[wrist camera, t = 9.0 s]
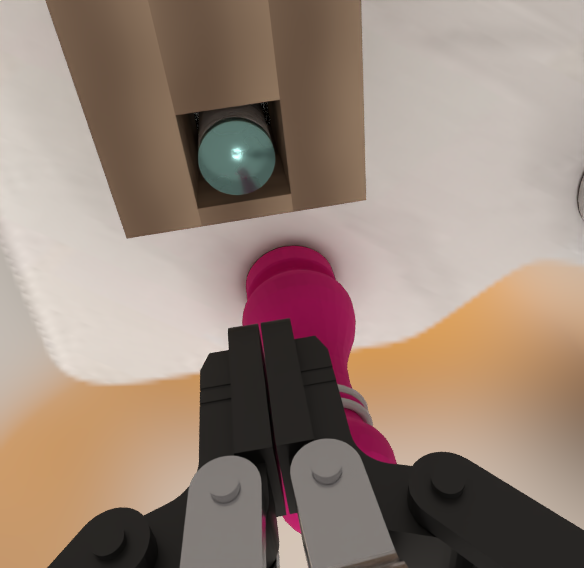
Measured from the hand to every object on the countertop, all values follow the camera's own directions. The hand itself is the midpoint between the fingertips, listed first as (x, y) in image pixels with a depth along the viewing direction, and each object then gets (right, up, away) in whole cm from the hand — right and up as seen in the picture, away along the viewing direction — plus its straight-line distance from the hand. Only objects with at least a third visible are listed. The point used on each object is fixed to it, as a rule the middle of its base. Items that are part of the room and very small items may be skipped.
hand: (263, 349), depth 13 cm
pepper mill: (0, +2, +25) cm, 25 cm away
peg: (-3, +12, +16) cm, 21 cm away
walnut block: (-3, +16, +14) cm, 21 cm away
